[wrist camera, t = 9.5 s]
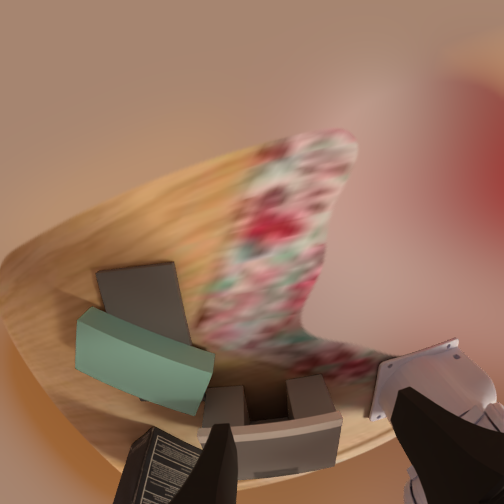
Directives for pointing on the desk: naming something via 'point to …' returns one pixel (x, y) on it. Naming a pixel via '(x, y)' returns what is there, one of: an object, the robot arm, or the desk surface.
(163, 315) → the mat
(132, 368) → the green block
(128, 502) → the small box
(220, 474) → the robot arm
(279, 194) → the desk surface
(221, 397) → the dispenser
